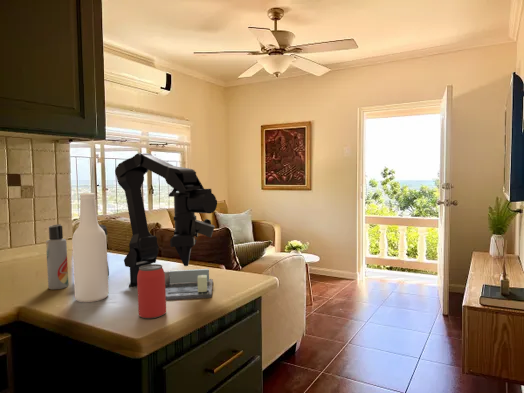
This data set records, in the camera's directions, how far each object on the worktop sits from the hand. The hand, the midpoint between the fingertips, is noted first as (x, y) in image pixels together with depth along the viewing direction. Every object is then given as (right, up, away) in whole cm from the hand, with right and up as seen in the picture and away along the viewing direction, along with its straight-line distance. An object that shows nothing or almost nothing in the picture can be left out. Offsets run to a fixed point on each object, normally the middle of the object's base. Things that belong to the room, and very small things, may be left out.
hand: (186, 265), depth 109 cm
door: (-1, -7, +8) cm, 11 cm away
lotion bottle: (-43, -9, +11) cm, 45 cm away
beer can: (-5, -9, -16) cm, 19 cm away
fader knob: (+5, -7, -1) cm, 8 cm away
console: (0, -8, +3) cm, 9 cm away
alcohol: (-27, -9, -1) cm, 28 cm away
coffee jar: (-36, -8, +21) cm, 42 cm away
